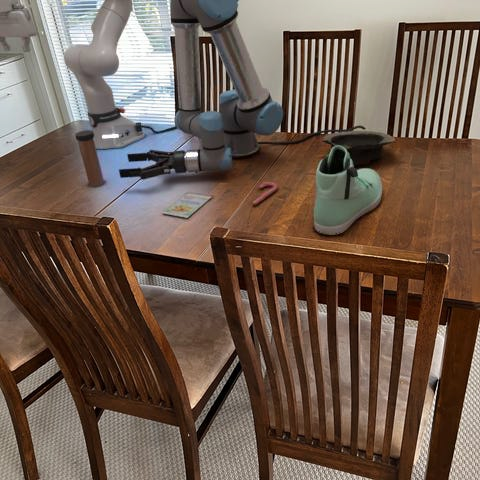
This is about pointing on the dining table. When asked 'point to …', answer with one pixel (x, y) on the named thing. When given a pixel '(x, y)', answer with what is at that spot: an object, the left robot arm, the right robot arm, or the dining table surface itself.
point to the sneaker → (343, 192)
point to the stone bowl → (360, 144)
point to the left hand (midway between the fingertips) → (17, 51)
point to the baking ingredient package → (187, 205)
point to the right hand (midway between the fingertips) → (124, 165)
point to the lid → (84, 135)
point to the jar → (91, 162)
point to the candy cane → (266, 192)
